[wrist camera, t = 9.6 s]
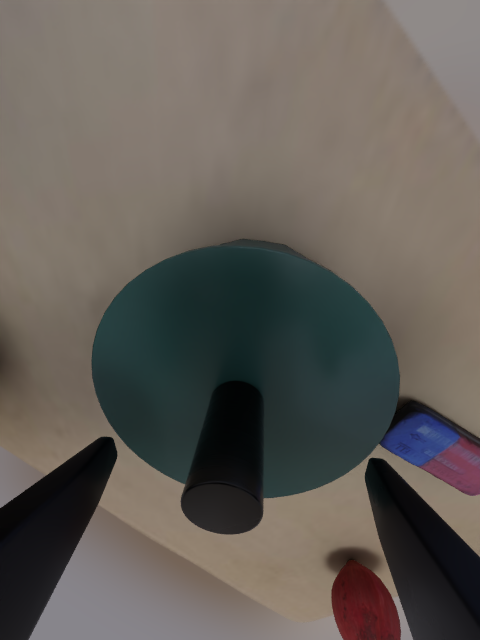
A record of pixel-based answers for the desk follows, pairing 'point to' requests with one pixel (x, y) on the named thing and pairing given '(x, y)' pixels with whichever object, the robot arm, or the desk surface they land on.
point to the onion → (363, 605)
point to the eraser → (435, 446)
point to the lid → (244, 377)
